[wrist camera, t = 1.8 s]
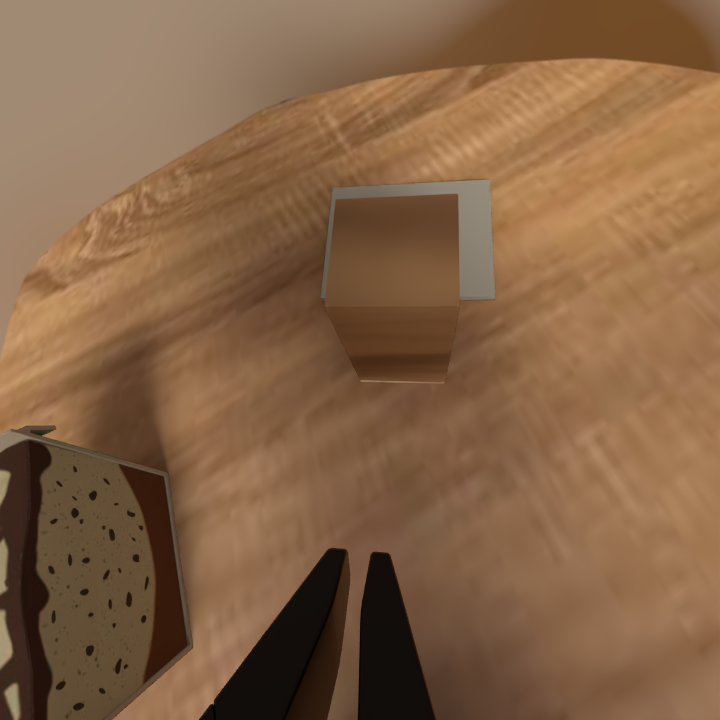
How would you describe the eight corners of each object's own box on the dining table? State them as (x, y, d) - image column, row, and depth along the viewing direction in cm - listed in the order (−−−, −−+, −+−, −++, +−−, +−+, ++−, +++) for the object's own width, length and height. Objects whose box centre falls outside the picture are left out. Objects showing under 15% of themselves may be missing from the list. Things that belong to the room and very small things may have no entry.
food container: (72, 482, 25) (-134, 469, 16) (164, 448, 25) (10, 416, 16) (86, 720, 21) (-192, 899, 11) (197, 681, 20) (9, 830, 11)
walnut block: (444, 383, 24) (459, 306, 14) (360, 381, 25) (324, 306, 15) (444, 307, 25) (458, 193, 16) (366, 307, 26) (335, 199, 17)
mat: (494, 299, 25) (495, 296, 25) (321, 300, 27) (320, 298, 26) (488, 183, 28) (489, 179, 28) (333, 191, 30) (332, 187, 29)
